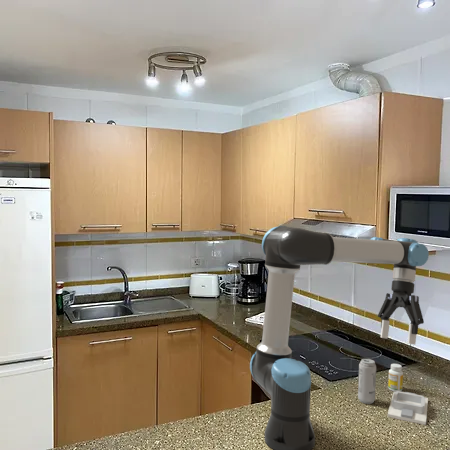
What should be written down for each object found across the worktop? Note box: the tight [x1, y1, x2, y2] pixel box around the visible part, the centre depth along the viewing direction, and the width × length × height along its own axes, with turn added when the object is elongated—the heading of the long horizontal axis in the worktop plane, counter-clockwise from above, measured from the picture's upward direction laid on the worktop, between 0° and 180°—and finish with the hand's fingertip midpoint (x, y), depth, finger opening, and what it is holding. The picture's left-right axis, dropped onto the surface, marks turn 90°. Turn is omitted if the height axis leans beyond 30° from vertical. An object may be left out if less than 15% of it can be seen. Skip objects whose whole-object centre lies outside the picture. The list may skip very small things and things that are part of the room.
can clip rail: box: [387, 391, 429, 426], centre depth 158 cm, size 21×12×4 cm, turn 154°
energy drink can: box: [357, 358, 377, 405], centre depth 163 cm, size 6×6×15 cm
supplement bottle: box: [387, 363, 404, 392], centre depth 175 cm, size 5×5×10 cm
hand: (397, 341), depth 156 cm, fingers open, 13 cm apart
